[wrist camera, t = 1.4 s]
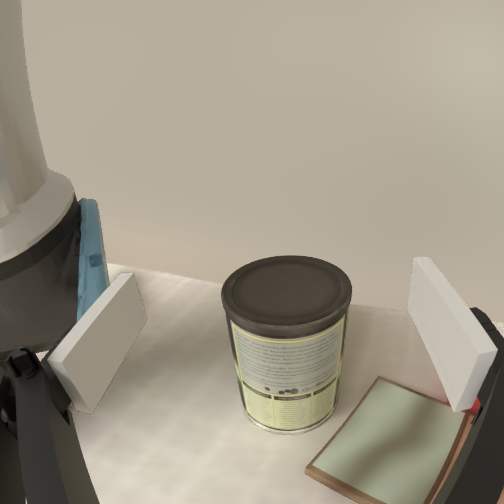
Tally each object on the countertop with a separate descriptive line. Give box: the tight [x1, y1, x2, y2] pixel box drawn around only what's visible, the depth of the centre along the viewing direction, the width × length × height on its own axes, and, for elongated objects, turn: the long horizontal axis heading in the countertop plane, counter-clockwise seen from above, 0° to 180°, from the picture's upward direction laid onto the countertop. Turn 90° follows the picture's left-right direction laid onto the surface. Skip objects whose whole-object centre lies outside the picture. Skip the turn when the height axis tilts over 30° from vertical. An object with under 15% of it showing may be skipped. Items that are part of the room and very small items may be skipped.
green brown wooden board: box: [305, 376, 504, 504], centre depth 20 cm, size 22×13×2 cm, turn 47°
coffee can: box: [221, 256, 352, 435], centre depth 29 cm, size 10×10×14 cm
